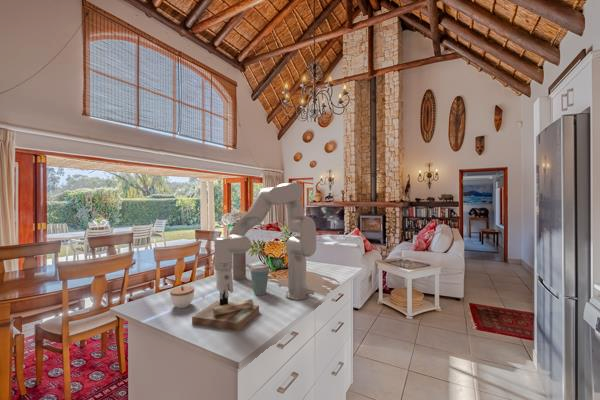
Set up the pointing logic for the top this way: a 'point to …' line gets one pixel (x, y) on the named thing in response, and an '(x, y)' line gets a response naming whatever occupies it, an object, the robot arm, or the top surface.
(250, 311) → the brown wooden flat board
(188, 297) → the lidded jar
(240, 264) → the thermos bottle
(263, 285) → the disposable coffee cup
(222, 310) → the oak leg
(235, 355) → the top surface
